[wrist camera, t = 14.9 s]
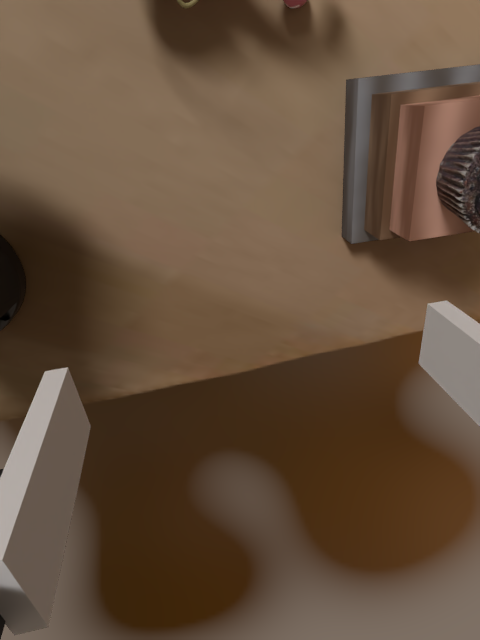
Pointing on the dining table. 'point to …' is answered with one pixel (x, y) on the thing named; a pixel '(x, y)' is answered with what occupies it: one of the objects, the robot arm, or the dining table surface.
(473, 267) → the dining table surface
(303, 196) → the dining table surface
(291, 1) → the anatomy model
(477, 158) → the cupcake
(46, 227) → the dining table surface
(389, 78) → the stepped pyramid block
